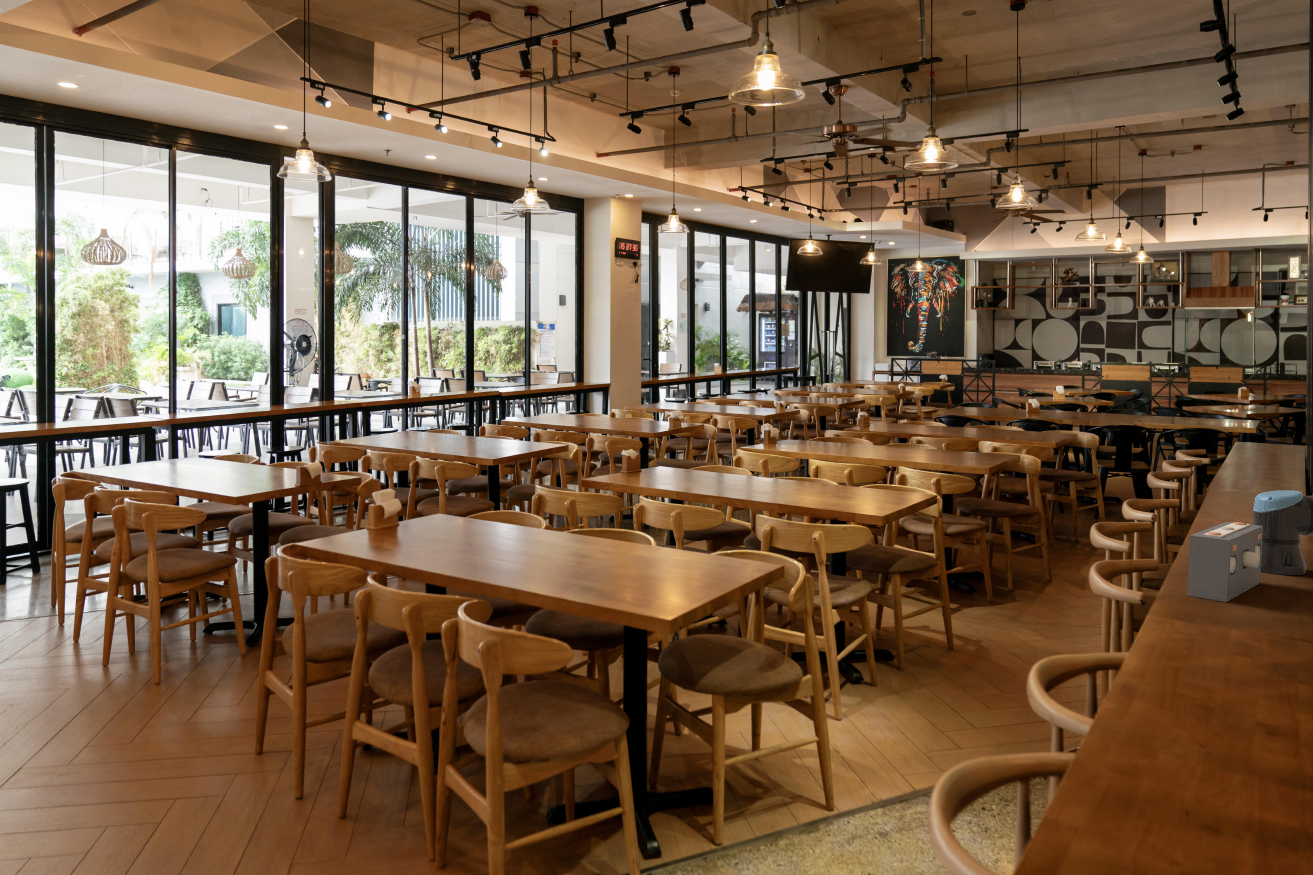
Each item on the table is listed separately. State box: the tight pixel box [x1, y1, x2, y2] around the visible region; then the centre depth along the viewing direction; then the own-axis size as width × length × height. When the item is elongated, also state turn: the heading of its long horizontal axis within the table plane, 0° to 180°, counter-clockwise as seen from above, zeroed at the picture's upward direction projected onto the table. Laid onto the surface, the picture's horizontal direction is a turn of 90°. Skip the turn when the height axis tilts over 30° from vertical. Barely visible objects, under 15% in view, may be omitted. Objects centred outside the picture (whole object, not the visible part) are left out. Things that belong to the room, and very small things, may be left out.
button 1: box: [1230, 557, 1236, 573], centre depth 232 cm, size 4×6×4 cm
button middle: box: [1243, 551, 1260, 568], centre depth 238 cm, size 4×6×4 cm
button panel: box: [1186, 521, 1263, 603], centre depth 241 cm, size 30×9×17 cm, turn 132°
